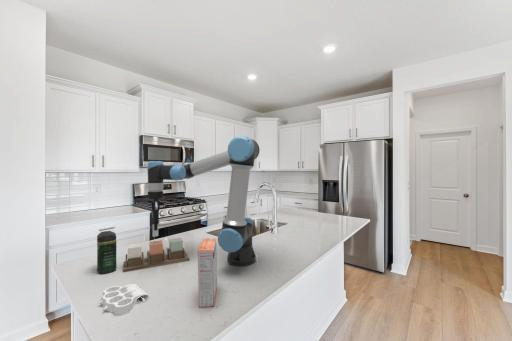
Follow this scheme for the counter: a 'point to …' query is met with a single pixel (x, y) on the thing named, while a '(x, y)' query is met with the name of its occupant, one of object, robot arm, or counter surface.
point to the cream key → (134, 250)
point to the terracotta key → (155, 247)
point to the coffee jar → (106, 252)
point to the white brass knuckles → (122, 298)
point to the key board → (154, 260)
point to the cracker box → (207, 273)
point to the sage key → (175, 244)
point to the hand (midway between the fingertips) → (155, 235)
